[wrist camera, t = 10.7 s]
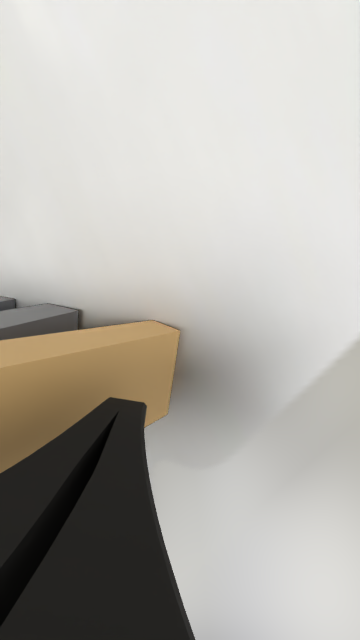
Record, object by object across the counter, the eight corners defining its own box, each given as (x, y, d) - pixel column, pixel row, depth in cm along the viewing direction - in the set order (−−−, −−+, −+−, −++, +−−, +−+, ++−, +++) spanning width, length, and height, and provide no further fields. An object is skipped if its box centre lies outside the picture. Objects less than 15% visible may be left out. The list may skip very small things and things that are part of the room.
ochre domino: (167, 414, 13) (-74, 554, 6) (143, 397, 14) (-80, 497, 7) (180, 330, 12) (-103, 388, 5) (152, 320, 13) (-104, 354, 6)
